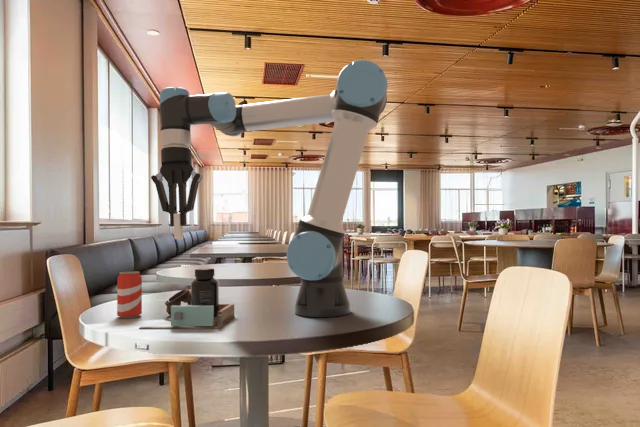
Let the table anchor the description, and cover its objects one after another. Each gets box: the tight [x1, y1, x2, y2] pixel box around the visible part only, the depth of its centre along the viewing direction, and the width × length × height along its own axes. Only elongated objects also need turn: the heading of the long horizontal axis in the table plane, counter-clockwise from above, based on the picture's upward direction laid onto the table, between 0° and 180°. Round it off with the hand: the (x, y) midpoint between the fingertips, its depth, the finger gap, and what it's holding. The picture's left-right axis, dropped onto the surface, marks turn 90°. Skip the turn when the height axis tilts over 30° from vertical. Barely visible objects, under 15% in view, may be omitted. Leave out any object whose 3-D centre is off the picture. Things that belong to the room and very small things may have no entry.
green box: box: [170, 305, 214, 326], centre depth 107 cm, size 10×2×5 cm, turn 86°
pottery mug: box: [164, 288, 191, 317], centre depth 126 cm, size 12×10×8 cm
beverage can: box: [116, 271, 143, 319], centre depth 124 cm, size 6×6×12 cm
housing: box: [138, 303, 235, 330], centre depth 114 cm, size 20×15×4 cm
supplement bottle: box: [190, 267, 220, 317], centre depth 116 cm, size 7×7×12 cm
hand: (178, 238), depth 118 cm, fingers closed
